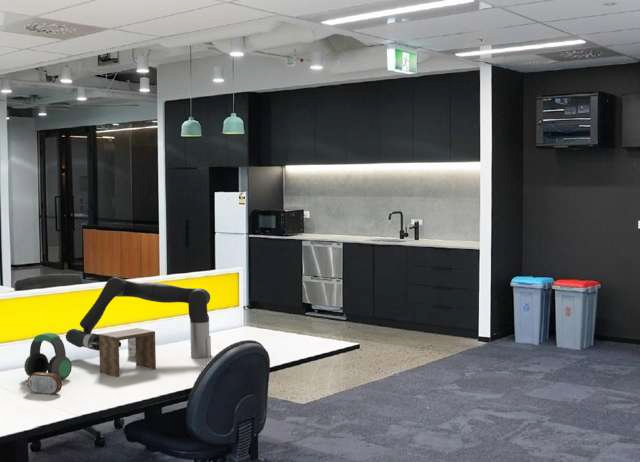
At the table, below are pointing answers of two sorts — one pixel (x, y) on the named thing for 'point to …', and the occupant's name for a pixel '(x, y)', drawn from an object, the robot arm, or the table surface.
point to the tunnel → (111, 349)
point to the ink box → (132, 347)
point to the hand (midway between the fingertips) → (113, 345)
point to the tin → (44, 383)
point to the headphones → (40, 362)
